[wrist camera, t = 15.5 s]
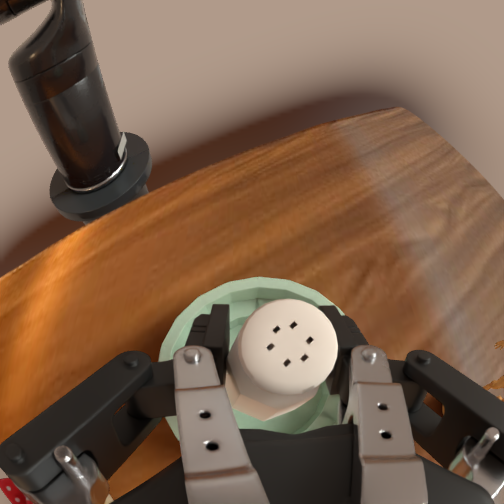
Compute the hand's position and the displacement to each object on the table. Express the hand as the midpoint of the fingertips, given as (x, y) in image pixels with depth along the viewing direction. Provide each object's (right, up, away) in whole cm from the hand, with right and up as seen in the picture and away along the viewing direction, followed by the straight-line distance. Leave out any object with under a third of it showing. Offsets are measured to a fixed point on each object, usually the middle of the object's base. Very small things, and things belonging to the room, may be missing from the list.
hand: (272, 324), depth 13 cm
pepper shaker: (0, -5, +4) cm, 7 cm away
